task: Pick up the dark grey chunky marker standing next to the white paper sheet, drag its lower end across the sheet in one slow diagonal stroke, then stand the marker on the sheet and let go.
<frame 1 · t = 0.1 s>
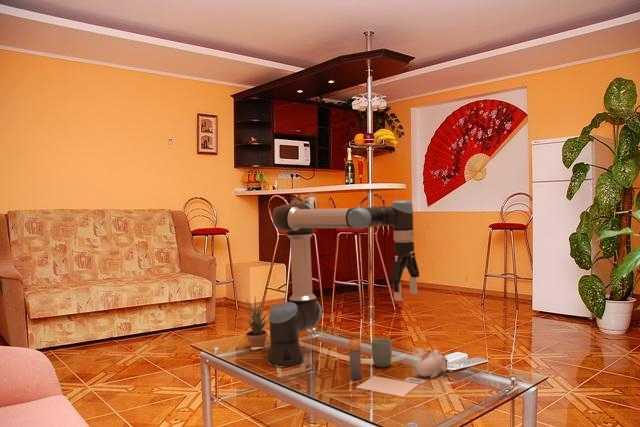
hand: (405, 297, 202), 28 cm above the table, fingers open, 13 cm apart
paper: (387, 386, 186), on the table
potted plant: (257, 349, 240), on the table
cup: (382, 366, 209), on the table
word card: (414, 380, 191), on the table
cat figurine: (432, 374, 197), on the table
marker: (355, 378, 196), on the table
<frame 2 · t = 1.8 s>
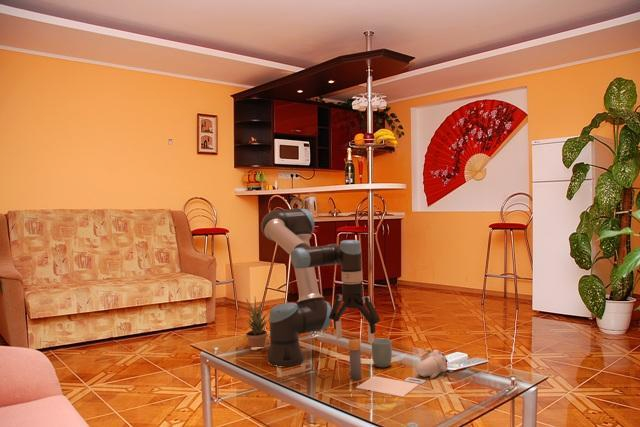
hand: (354, 340, 195), 14 cm above the table, fingers open, 13 cm apart
nothing on the table moved.
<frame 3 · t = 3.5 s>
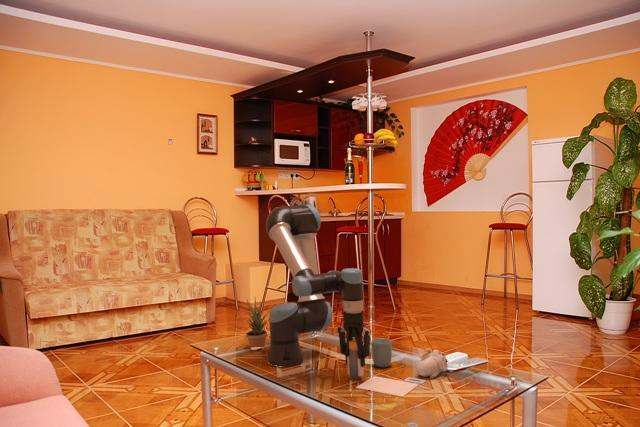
hand: (355, 374, 196), 2 cm above the table, fingers closed on marker, 4 cm apart
marker: (355, 378, 196), on the table, touching gripper
everything else where it was.
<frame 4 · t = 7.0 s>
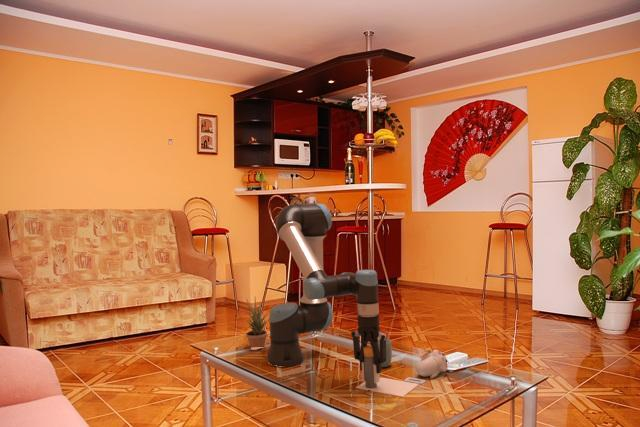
hand: (371, 380, 186), 2 cm above the table, fingers closed on marker, 4 cm apart
marker: (371, 386, 186), resting on paper, touching gripper
everything else where it was.
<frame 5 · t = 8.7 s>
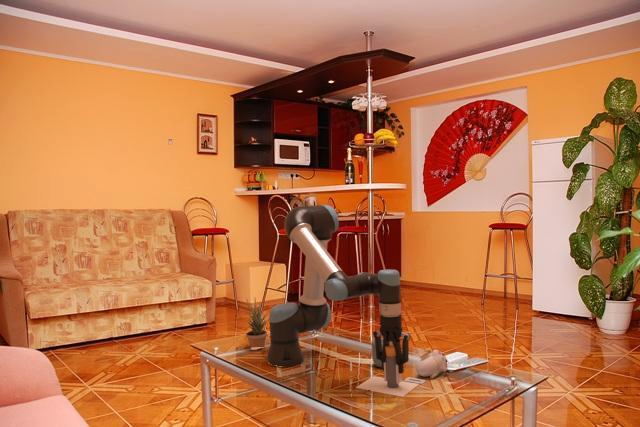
hand: (393, 380, 186), 2 cm above the table, fingers closed on marker, 4 cm apart
marker: (393, 385, 185), resting on paper, touching gripper
everything else where it was.
when the fingers open (3 cm above the table, at t = 10.3 s): marker stays where it is, resting on paper.
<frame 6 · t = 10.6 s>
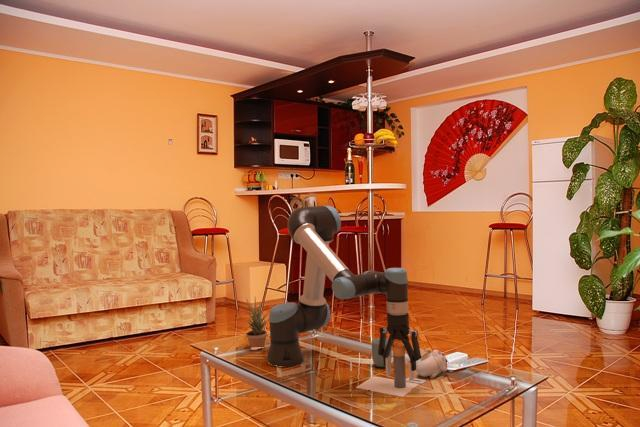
hand: (400, 377, 185), 3 cm above the table, fingers open, 8 cm apart
marker: (400, 386, 185), resting on paper
everything else where it was.
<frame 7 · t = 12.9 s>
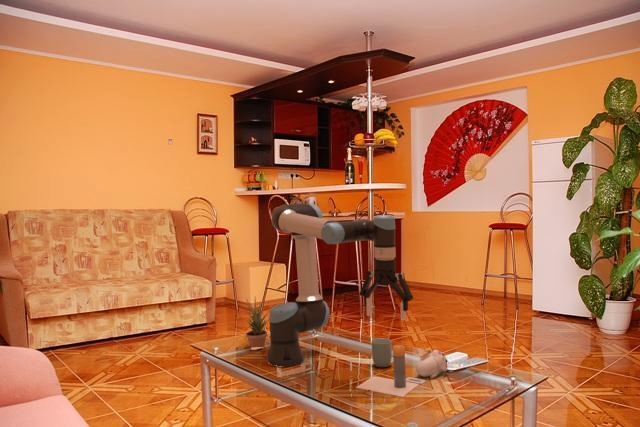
hand: (386, 317, 190), 23 cm above the table, fingers open, 13 cm apart
nothing on the table moved.
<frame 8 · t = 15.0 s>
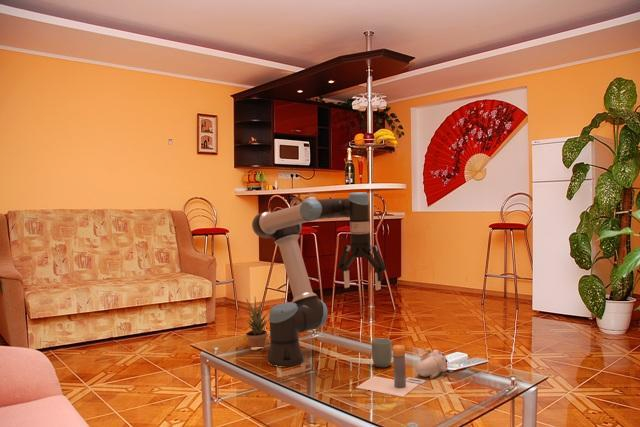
hand: (362, 288, 203), 32 cm above the table, fingers open, 13 cm apart
nothing on the table moved.
at the end: marker inside the target area on the paper (4.4 cm from its centre), point 0.3 cm above the paper's base; marker tilted 0°; the gripper is holding nothing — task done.
